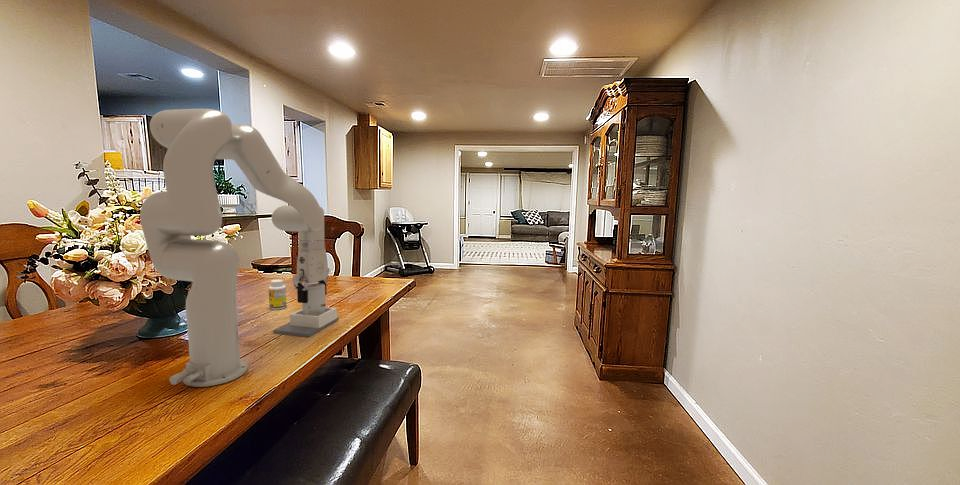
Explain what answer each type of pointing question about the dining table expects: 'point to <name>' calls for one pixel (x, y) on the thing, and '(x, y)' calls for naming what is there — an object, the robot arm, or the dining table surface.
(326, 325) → the socket holder
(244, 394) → the dining table surface
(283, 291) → the supplement bottle
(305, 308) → the skincare box
